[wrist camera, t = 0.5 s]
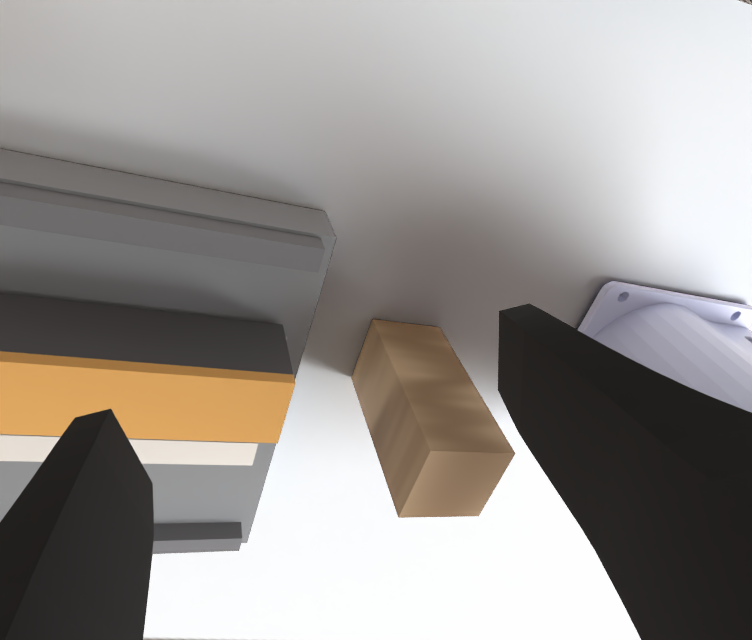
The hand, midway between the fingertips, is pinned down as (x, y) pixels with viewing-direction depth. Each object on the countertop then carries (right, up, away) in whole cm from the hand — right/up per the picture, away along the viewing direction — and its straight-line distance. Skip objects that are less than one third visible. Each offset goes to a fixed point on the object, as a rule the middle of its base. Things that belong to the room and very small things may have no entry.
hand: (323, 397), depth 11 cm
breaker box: (-8, 0, +10) cm, 13 cm away
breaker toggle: (-7, +1, +7) cm, 10 cm away
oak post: (+2, 0, +13) cm, 13 cm away
